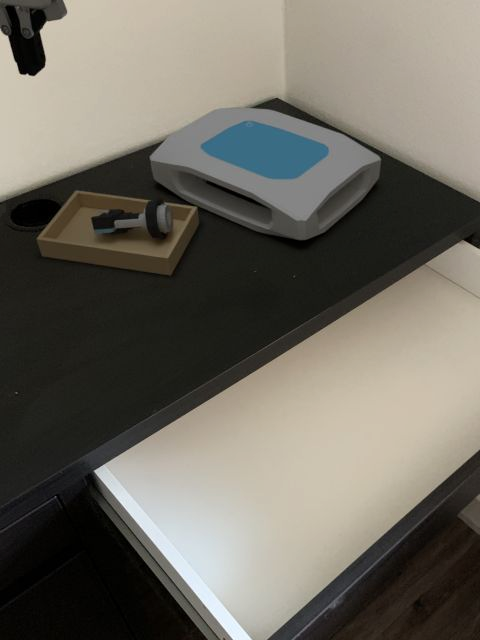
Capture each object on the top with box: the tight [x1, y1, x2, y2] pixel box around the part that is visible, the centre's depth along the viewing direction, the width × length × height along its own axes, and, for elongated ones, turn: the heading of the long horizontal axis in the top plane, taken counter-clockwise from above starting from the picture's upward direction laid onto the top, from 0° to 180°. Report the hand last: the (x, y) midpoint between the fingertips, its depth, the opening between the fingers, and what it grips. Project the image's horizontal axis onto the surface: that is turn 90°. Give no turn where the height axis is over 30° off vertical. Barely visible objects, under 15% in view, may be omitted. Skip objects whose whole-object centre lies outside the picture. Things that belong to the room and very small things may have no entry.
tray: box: [35, 189, 200, 277], centre depth 91 cm, size 18×12×3 cm
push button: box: [91, 197, 173, 239], centre depth 90 cm, size 7×5×10 cm
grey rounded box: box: [149, 106, 382, 241], centre depth 99 cm, size 21×28×6 cm
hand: (33, 70), depth 75 cm, fingers closed
